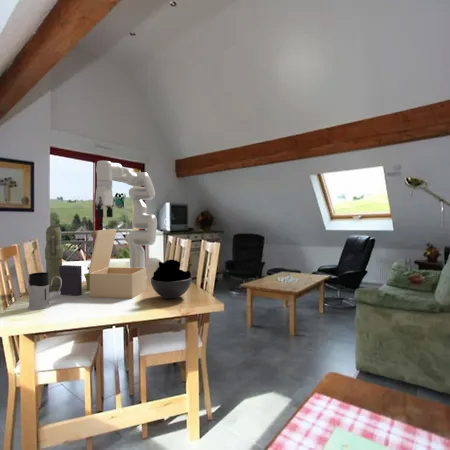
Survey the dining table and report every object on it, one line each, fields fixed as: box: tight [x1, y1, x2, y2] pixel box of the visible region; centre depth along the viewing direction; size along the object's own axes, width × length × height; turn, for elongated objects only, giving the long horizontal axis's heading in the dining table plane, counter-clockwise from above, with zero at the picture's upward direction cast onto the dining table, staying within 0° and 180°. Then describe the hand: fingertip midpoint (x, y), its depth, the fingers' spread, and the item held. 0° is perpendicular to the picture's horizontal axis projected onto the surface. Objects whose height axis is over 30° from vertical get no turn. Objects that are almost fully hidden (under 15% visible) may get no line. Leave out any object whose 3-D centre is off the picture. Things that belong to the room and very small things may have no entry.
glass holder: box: [27, 271, 62, 311], centre depth 143 cm, size 9×14×15 cm, turn 94°
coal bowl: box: [150, 259, 192, 299], centre depth 158 cm, size 20×20×19 cm
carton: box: [89, 266, 147, 299], centre depth 168 cm, size 20×22×12 cm
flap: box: [87, 228, 118, 274], centre depth 169 cm, size 20×22×9 cm
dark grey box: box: [59, 264, 83, 297], centre depth 166 cm, size 11×4×15 cm, turn 74°
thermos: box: [44, 226, 64, 292], centre depth 177 cm, size 9×12×35 cm
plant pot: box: [83, 272, 90, 291], centre depth 178 cm, size 9×9×9 cm
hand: (105, 217), depth 168 cm, fingers open, 9 cm apart
